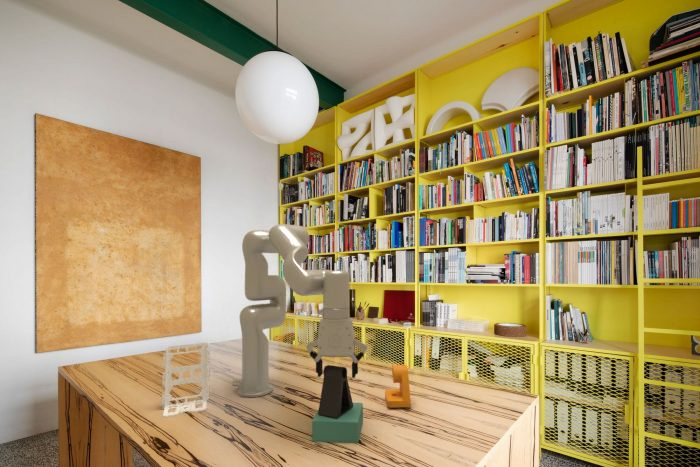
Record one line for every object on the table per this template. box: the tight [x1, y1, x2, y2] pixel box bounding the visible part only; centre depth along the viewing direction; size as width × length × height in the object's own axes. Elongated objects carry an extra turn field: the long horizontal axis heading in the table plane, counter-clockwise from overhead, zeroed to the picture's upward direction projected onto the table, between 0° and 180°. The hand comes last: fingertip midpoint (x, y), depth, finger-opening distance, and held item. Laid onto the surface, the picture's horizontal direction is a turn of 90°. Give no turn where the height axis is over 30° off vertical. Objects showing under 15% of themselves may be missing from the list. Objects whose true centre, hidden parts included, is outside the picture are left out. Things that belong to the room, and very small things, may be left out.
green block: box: [311, 402, 364, 444], centre depth 96 cm, size 12×13×5 cm
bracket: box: [384, 364, 412, 408], centre depth 114 cm, size 11×7×12 cm, turn 179°
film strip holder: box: [161, 342, 211, 418], centre depth 116 cm, size 14×14×20 cm
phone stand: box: [317, 364, 354, 419], centre depth 97 cm, size 9×6×12 cm, turn 150°
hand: (336, 376), depth 97 cm, fingers open, 9 cm apart
